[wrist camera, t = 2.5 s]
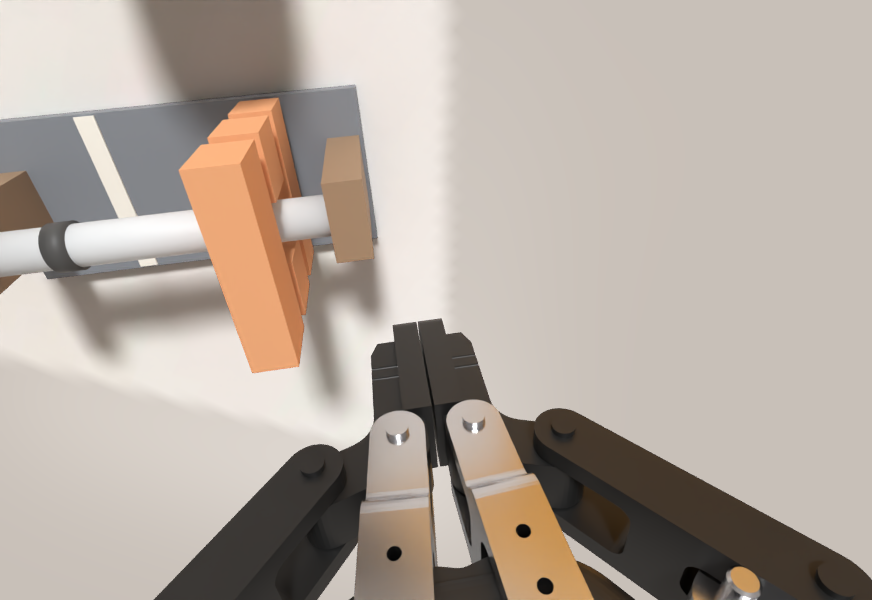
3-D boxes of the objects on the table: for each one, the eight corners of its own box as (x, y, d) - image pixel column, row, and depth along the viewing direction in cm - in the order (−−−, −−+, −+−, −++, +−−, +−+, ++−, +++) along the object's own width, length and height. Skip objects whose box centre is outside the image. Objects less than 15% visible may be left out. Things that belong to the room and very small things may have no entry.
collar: (281, 254, 30) (252, 373, 21) (239, 101, 25) (178, 170, 16) (313, 250, 31) (299, 366, 22) (278, 97, 26) (240, 163, 17)
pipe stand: (54, 272, 30) (-31, 357, 24) (-33, 122, 25) (-171, 175, 19) (376, 232, 32) (384, 300, 25) (355, 84, 27) (357, 120, 20)
